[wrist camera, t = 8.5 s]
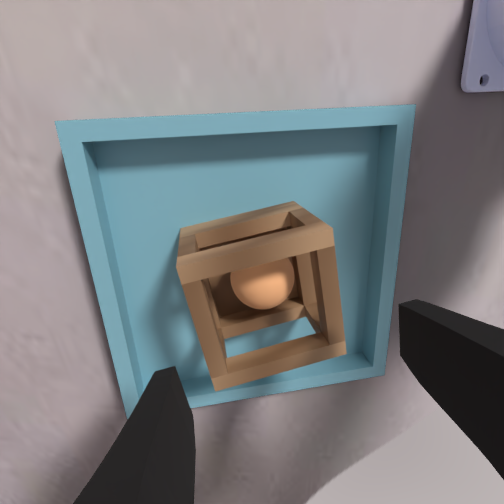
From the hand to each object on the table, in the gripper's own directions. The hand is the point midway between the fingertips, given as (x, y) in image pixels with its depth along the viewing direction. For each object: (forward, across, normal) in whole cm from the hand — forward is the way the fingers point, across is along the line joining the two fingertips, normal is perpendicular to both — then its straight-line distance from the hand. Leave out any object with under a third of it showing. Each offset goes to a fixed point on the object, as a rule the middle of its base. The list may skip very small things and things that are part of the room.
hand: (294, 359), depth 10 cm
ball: (+6, 0, 0) cm, 6 cm away
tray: (+8, 0, 0) cm, 8 cm away
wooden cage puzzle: (+8, 0, 0) cm, 8 cm away
